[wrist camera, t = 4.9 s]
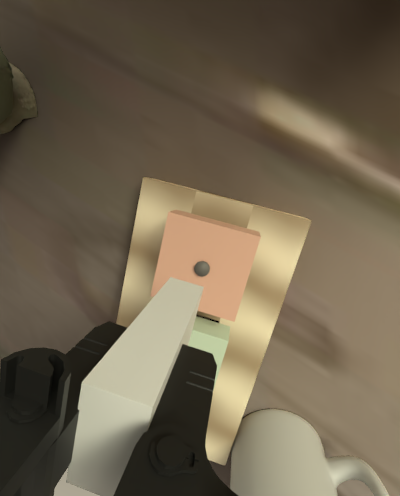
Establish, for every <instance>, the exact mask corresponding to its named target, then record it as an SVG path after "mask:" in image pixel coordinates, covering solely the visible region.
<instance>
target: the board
mask: <svg viewBox="0 0 400 496" xmlns="http://www.w3.org/2000/svg"><path fill="white" fill-rule="evenodd" d="M173 210H180V211H184V212H188V213H191V214H195V215H199V216H202V217H206V218H210V219H214V220H217V221H221V222H225V223H229V224H232V225H236V226H240V227H243V228H247V229H251V230H255V231H258V232H260V236H261V238H260V241H259V245H258V248H257V251H256V254H255V257H254V261H253V264H252V267H251V270H250V274H249V277H248V280H247V283H246V287H245V290H244V293H243V296H242V299H241V303H240V306H239V309H238V312H237V316H236V319H235V322H233V321H230V320H226V319H223V318H220V317H217V316H213V315H210V314H207V313H204V312H200V311H197V315H201V316H204V317H207V318H210V319H214V320H217V321H218V323H220V324H223V325H227V326H230V333H229V341H228V345H227V348H226V351H225V354H224V358H223V361H222V364H221V367H220V371H219V374H218V377H217V380H216V384H215V387H214V390H213V396H212V402H211V408H210V415H209V421H208V427H207V433H206V444H205V449H206V453H207V458H208V460H210V461H213V462H216V463H219V464H221V465H224V466H225V465H226V462H227V459H228V456H229V453H230V451H231V448H232V445H233V442H234V439H235V436H236V434H237V431H238V428H239V425H240V422H241V419H242V417H243V414H244V411H245V408H246V405H247V402H248V400H249V397H250V394H251V391H252V388H253V385H254V383H255V380H256V377H257V374H258V371H259V369H260V366H261V363H262V360H263V357H264V354H265V352H266V349H267V346H268V343H269V340H270V337H271V335H272V332H273V329H274V326H275V323H276V320H277V318H278V315H279V312H280V309H281V306H282V303H283V301H284V298H285V295H286V292H287V289H288V286H289V284H290V281H291V278H292V275H293V272H294V270H295V267H296V264H297V261H298V258H299V255H300V253H301V250H302V247H303V244H304V241H305V238H306V236H307V233H308V230H309V227H310V224H311V220H309V219H307V218H305V217H301V216H297V215H293V214H289V213H285V212H281V211H277V210H274V209H270V208H266V207H262V206H258V205H254V204H250V203H247V202H243V201H239V200H235V199H231V198H227V197H223V196H219V195H216V194H212V193H208V192H204V191H200V190H196V189H192V188H189V187H185V186H181V185H177V184H173V183H169V182H165V181H161V180H158V179H154V178H147V177H143V181H142V186H141V191H140V197H139V202H138V208H137V213H136V219H135V224H134V230H133V235H132V240H131V246H130V251H129V257H128V262H127V268H126V273H125V278H124V284H123V289H122V295H121V300H120V306H119V311H118V317H117V322H116V324H118V325H121V326H124V327H127V328H128V327H129V326H130V325H131V323H132V322H133V321H134V320H135V319H136V317H137V316H138V315H139V314H140V313H141V312H142V310H143V309H144V308H145V307H146V306H147V304H148V303H149V302H150V301H151V300H152V299H153V297H151V296H150V295H151V291H152V286H153V281H154V277H155V272H156V267H157V263H158V258H159V253H160V249H161V244H162V239H163V235H164V230H165V225H166V221H167V216H168V212H170V211H173Z"/></svg>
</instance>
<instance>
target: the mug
mask: <svg viewBox="0 0 400 496" xmlns="http://www.w3.org/2000/svg"><path fill="white" fill-rule="evenodd" d="M348 480H360V481H362V482H364V483H365V484H366V485H367V486H368V487H369V488H370V490H371V491H372V493H373V494H374V496H389V494H388V492H387V490H386V489H385V487H384V485H383V484H382V482H381V480H380V479H379V477H378V476H377V474H376V473H375V472H374V470H373V469H372V468H371V467H370V466H369V465H368V464H367V463H366V462H365V461H363V460H361V459H360V458H357V457H354V456H337V457H330V458H326V455H325V452H324V448H323V445H322V443H321V440H320V438H319V436H318V434H317V432H316V431H315V429H314V428H313V427H312V426H311V425H310V424H309V423H308V422H307V421H306V420H304V419H303V418H301V417H300V416H298V415H296V414H294V413H291V412H288V411H284V410H279V409H264V410H259V411H256V412H253V413H251V414H249V415H248V416H246V417H245V418H243V419H242V420H241V422H240V425H239V428H238V431H237V434H236V436H235V439H234V442H233V445H232V451H231V480H230V489H231V490H232V491H233V492H234V493H236V494H237V495H238V496H337V486H338V485H339V484H341V483H342V482H345V481H348Z"/></svg>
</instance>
